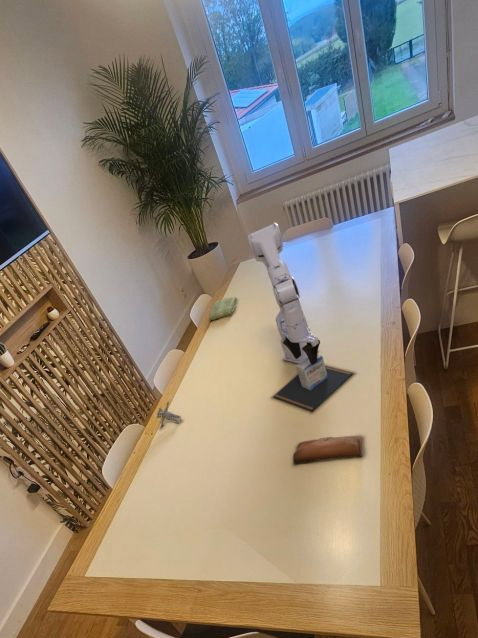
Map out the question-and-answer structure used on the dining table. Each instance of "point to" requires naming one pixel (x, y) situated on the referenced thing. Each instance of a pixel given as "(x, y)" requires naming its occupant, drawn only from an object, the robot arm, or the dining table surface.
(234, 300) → the washcloth
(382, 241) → the dining table surface
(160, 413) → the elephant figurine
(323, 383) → the slate mat
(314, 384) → the medicine box
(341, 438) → the sunglasses case
